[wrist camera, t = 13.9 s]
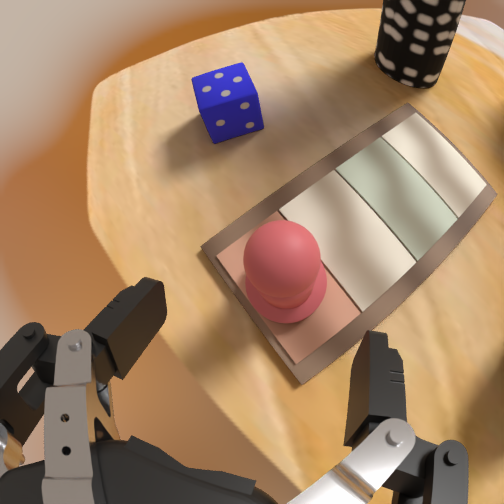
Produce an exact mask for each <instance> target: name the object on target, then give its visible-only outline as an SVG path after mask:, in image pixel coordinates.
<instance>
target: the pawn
mask: <svg viewBox="0 0 504 504" xmlns="http://www.w3.org/2000/svg"><path fill="white" fill-rule="evenodd" d="M243 264H244V269H245V272H246V279H245V287H246V292H247V296H248V298H249V301H250V302H251V304H252V306H253V307H254V308H255V309H256V310H257V311H258V312H259V313H260V314H261V315H263V316H264V317H266V318H267V319H269V320H271V321H274V322H278V323H295V322H298V321H301V320H303V319H305V318H307V317H309V316H310V315H311V314H312V313H313V312H315V310H316V309H317V308H318V307H319V305H320V304H321V302H322V300H323V298H324V296H325V293H326V288H327V276H326V271H325V268H324V266H323V264H322V262H321V254H320V249H319V246H318V243H317V241H316V240H315V238H314V236H313V235H312V234H311V233H310V232H309V231H308V230H307V229H306V228H305V227H303V226H301V225H300V224H298V223H295V222H292V221H287V220H277V221H272V222H269V223H266V224H264V225H262V226H261V227H259V228H258V229H257V230H256V231H255V232H254V233H253V234H252V235H251V237H250V238H249V240H248V241H247V243H246V246H245V249H244V255H243Z"/></svg>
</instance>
